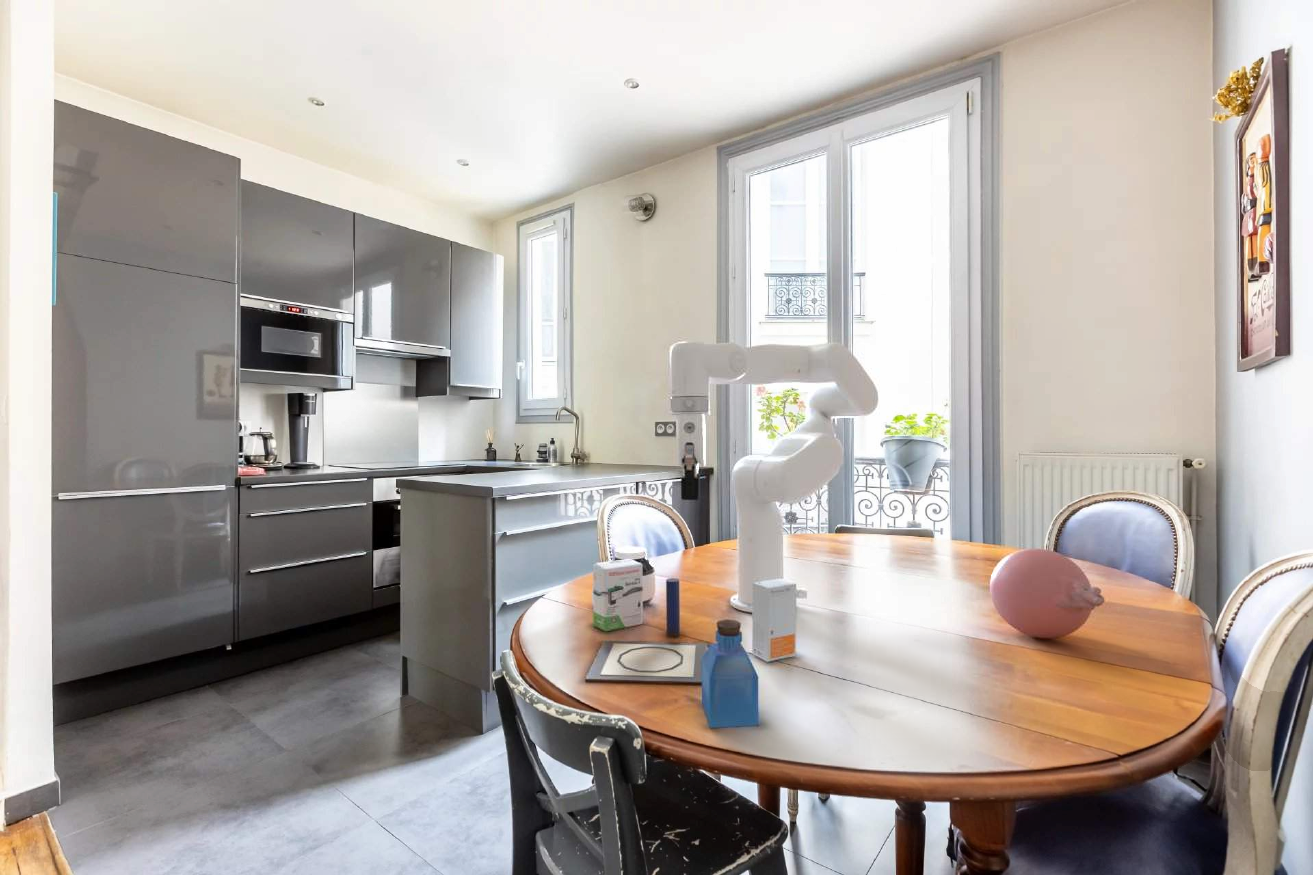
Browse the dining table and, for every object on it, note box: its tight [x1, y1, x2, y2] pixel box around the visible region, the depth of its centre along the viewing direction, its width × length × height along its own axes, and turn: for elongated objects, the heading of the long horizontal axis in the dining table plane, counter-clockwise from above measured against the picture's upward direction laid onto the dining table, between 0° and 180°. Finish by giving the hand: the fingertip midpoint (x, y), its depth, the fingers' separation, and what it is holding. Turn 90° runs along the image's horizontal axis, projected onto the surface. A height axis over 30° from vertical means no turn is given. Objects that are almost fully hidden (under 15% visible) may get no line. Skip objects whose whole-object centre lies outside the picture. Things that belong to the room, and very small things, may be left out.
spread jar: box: [590, 546, 657, 608], centre depth 127 cm, size 12×11×12 cm
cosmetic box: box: [751, 578, 797, 663], centre depth 99 cm, size 6×4×12 cm
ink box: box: [592, 559, 644, 632], centre depth 115 cm, size 9×5×12 cm, turn 123°
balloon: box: [989, 547, 1106, 639], centre depth 105 cm, size 15×20×15 cm
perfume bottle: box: [701, 619, 760, 729], centre depth 79 cm, size 6×6×12 cm
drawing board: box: [584, 640, 708, 686], centre depth 97 cm, size 18×16×1 cm
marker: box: [665, 577, 681, 638], centre depth 109 cm, size 2×2×10 cm
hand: (691, 496), depth 116 cm, fingers open, 9 cm apart
